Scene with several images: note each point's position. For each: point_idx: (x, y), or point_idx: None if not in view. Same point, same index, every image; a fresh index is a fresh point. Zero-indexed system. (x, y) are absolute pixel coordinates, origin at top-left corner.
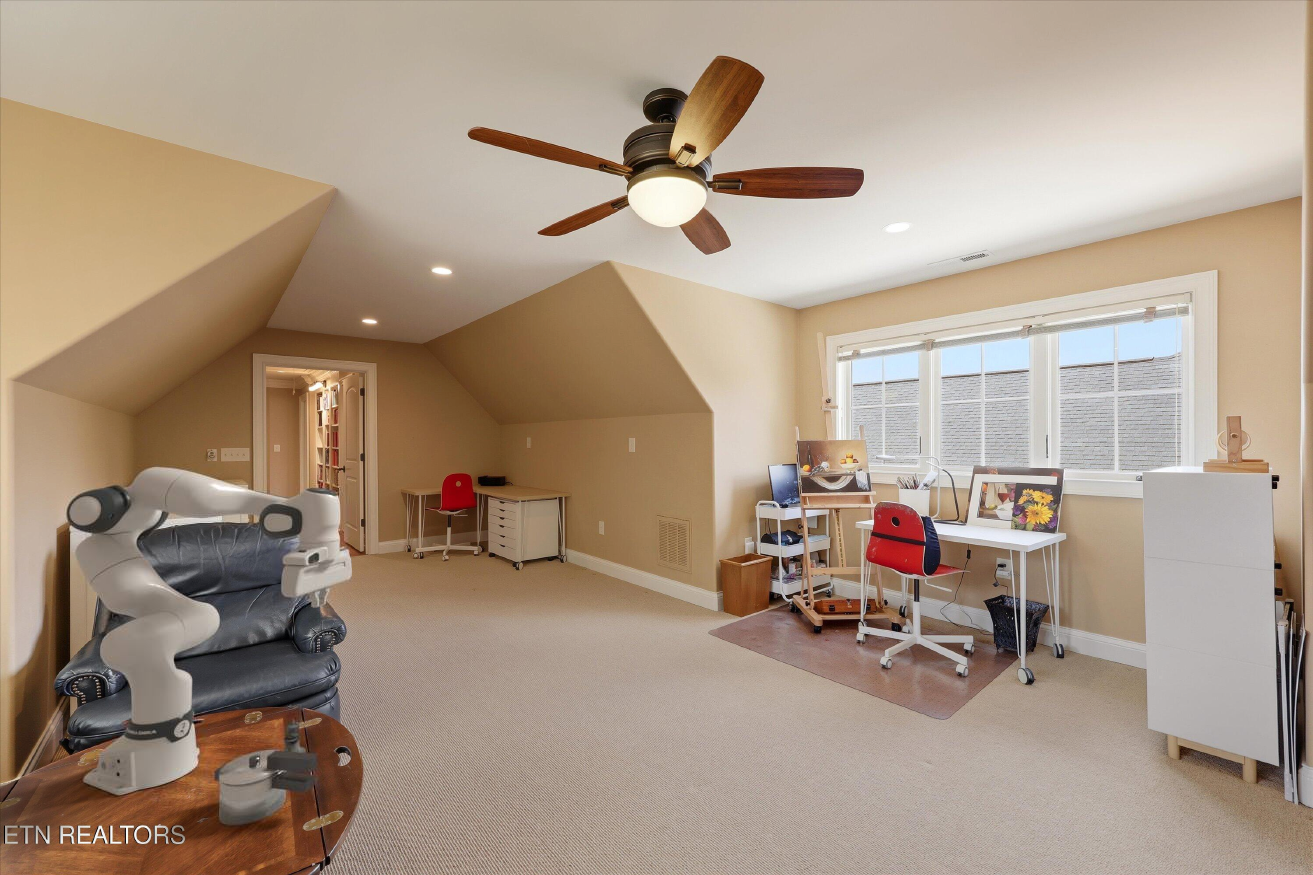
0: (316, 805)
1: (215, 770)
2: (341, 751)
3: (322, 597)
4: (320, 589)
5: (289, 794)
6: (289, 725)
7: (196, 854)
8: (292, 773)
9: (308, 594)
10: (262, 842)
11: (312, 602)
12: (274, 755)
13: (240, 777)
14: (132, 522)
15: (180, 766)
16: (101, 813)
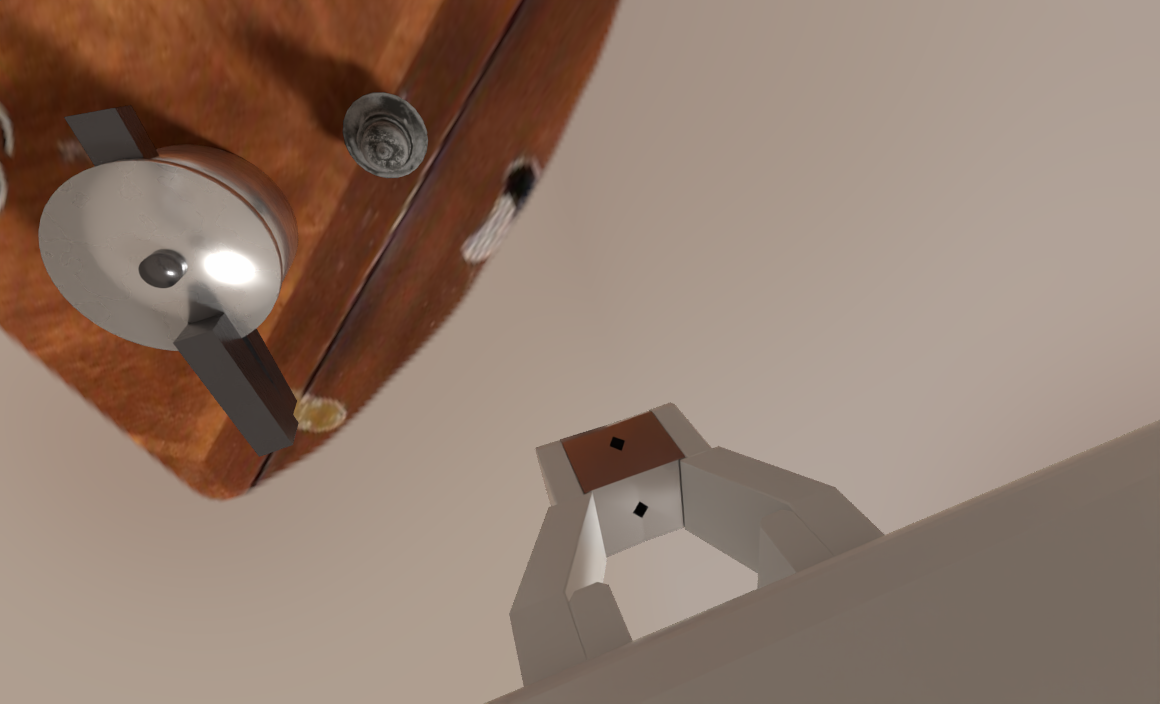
0: (323, 354)
1: (66, 120)
2: (513, 191)
3: (689, 513)
4: (769, 559)
5: (306, 257)
6: (368, 152)
7: (17, 294)
8: (257, 361)
9: (513, 623)
10: (167, 378)
11: (551, 492)
12: (194, 356)
13: (99, 302)
14: None
15: None
16: None
